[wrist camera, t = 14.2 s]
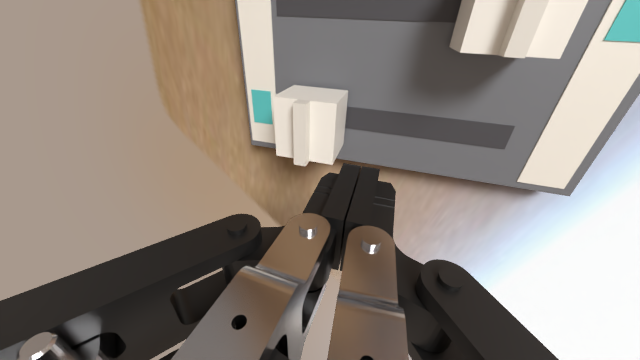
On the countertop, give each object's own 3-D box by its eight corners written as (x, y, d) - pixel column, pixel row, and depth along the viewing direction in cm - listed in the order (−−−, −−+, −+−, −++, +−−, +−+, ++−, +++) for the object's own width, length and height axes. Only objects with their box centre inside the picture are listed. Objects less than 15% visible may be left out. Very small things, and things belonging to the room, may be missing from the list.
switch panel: (244, -64, 17) (225, -74, 15) (716, -79, 12) (772, -97, 10) (262, 136, 24) (250, 145, 22) (555, 181, 19) (570, 197, 17)
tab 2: (473, -44, 13) (500, -70, 9) (567, -45, 12) (638, -75, 8) (449, 46, 15) (462, 54, 11) (527, 51, 14) (569, 60, 10)
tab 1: (294, 84, 19) (266, 99, 15) (348, 90, 18) (333, 107, 14) (295, 136, 21) (271, 160, 17) (343, 143, 20) (329, 170, 16)
